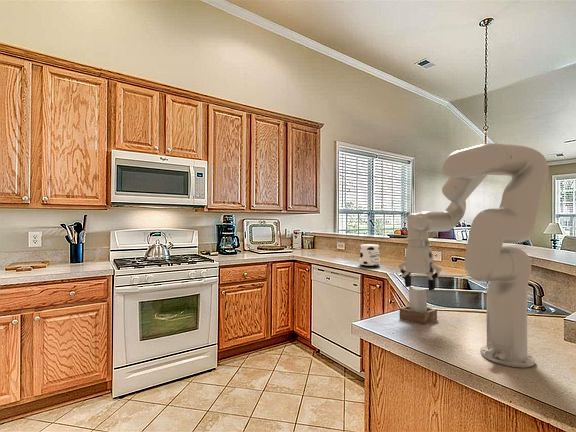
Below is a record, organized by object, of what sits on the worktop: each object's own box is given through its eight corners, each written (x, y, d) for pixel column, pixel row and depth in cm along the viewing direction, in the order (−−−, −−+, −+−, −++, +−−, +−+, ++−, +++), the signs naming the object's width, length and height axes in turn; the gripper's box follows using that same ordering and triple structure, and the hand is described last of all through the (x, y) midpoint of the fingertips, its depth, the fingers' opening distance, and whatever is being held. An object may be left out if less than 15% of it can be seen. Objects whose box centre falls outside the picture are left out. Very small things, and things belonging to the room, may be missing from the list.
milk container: (378, 268, 253) (378, 246, 253) (357, 267, 260) (357, 245, 260) (381, 265, 269) (381, 244, 269) (361, 264, 276) (361, 243, 276)
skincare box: (427, 321, 121) (428, 289, 121) (417, 321, 121) (417, 290, 121) (418, 316, 127) (418, 286, 127) (408, 316, 127) (408, 286, 127)
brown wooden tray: (423, 325, 117) (423, 314, 117) (399, 318, 125) (399, 308, 125) (436, 319, 123) (436, 309, 123) (413, 313, 131) (413, 304, 131)
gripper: (444, 244, 120) (446, 290, 119) (403, 243, 133) (404, 284, 132) (434, 245, 115) (436, 292, 114) (393, 244, 129) (394, 286, 128)
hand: (419, 288), depth 123 cm, fingers open, 9 cm apart
